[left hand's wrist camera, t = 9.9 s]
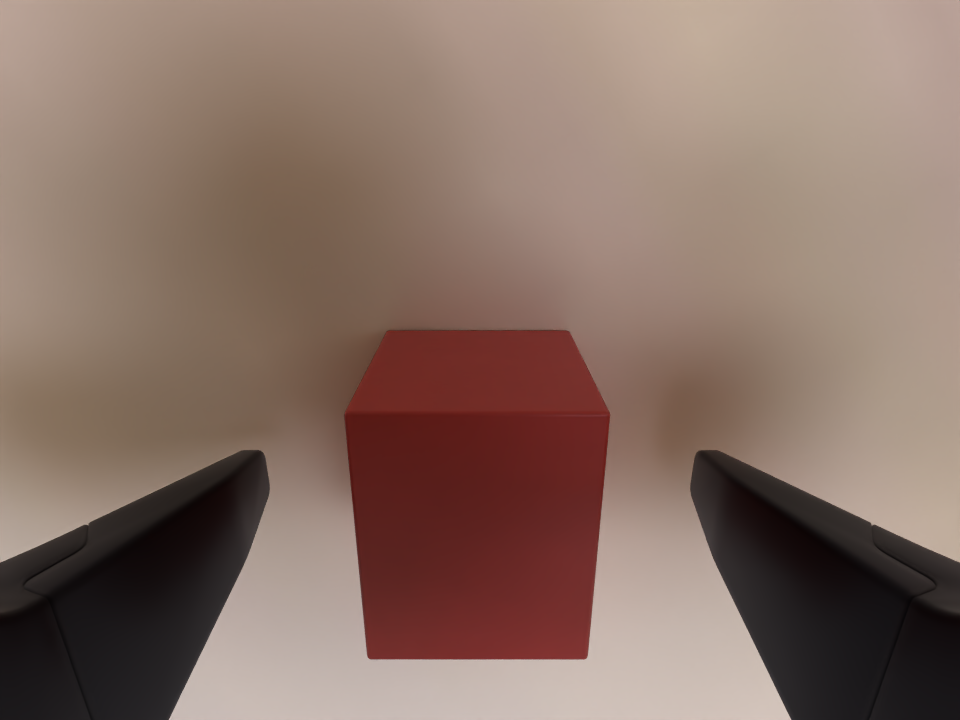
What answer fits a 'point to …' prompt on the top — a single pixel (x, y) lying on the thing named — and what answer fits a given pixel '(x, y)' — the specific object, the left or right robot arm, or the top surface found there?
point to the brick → (477, 495)
